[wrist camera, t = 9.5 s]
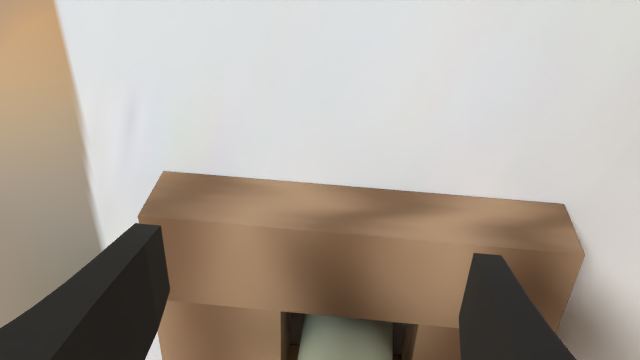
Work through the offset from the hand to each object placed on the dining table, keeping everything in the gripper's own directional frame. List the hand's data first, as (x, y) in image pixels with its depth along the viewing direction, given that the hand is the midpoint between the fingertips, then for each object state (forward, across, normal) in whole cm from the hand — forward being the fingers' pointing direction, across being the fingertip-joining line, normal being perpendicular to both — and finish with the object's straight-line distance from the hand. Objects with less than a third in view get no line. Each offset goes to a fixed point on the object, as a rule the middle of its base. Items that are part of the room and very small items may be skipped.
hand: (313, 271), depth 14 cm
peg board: (+9, -1, +11) cm, 15 cm away
